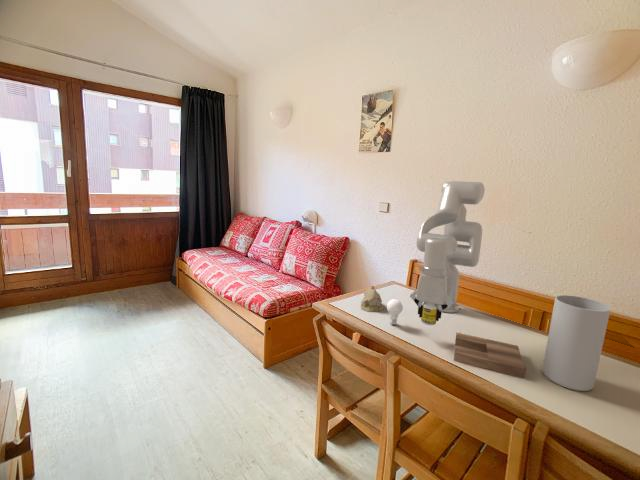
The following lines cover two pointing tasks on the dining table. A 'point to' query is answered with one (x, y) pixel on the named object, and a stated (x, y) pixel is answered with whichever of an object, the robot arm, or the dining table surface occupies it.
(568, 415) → the dining table surface
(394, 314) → the lightbulb
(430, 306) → the supplement bottle
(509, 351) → the notched board
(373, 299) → the ceramic model
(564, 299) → the cylinder vase
